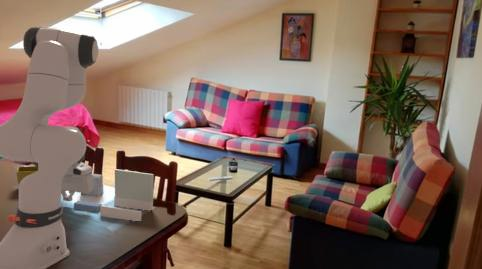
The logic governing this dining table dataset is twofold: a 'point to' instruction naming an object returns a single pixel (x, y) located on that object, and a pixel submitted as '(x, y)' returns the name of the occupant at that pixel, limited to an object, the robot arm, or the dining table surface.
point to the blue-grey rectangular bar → (87, 206)
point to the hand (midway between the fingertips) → (67, 200)
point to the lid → (134, 185)
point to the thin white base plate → (126, 213)
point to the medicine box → (96, 186)
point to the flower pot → (25, 172)
